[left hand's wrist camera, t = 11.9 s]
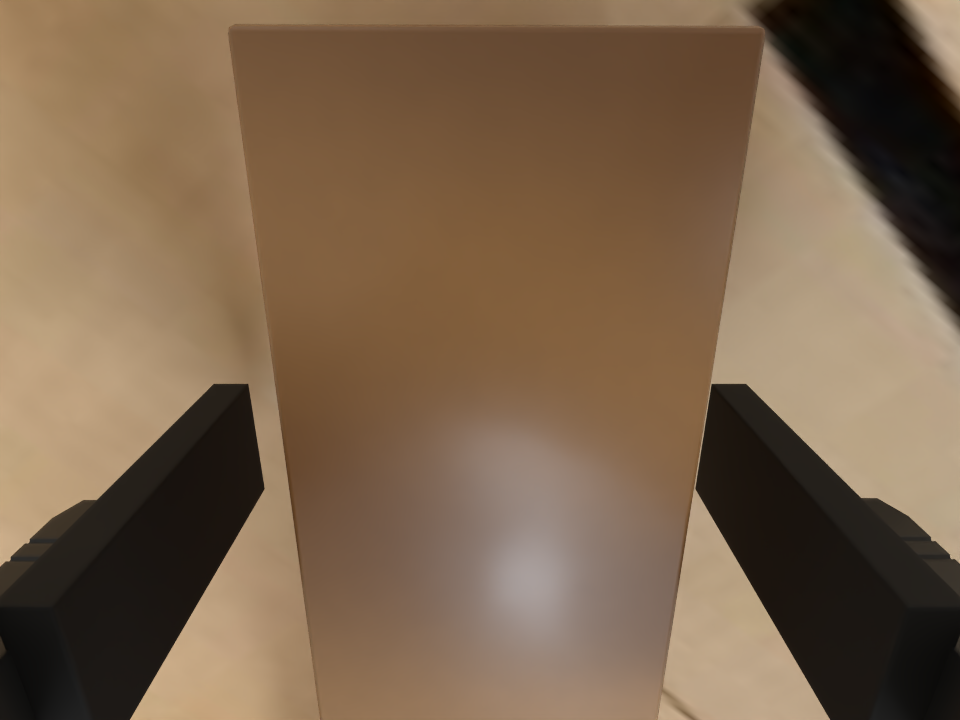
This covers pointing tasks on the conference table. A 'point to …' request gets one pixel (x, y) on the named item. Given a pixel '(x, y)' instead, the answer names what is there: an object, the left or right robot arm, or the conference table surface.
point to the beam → (493, 345)
